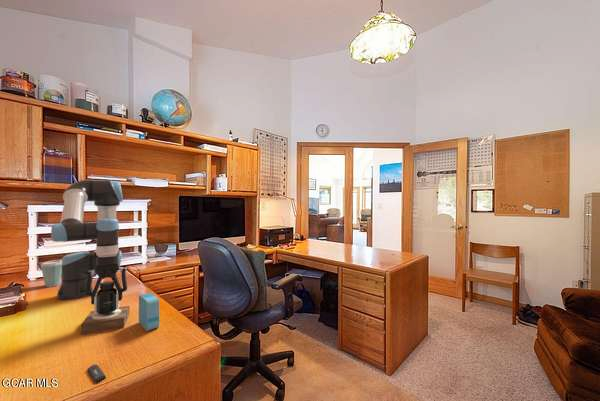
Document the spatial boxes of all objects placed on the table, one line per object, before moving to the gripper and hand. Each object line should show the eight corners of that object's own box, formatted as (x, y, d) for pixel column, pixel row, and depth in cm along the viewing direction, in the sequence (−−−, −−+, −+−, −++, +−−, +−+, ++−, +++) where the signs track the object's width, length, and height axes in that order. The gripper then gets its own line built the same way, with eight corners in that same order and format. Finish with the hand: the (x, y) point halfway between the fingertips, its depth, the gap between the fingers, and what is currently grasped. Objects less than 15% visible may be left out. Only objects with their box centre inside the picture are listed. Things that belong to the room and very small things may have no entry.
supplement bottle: (106, 315, 106) (105, 285, 106) (92, 314, 108) (92, 284, 108) (121, 308, 113) (120, 280, 113) (107, 307, 114) (107, 279, 114)
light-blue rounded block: (159, 328, 106) (159, 298, 106) (146, 332, 103) (147, 301, 103) (150, 319, 115) (150, 291, 115) (138, 322, 112) (138, 294, 112)
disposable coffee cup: (52, 288, 157) (52, 263, 157) (34, 288, 157) (34, 263, 157) (68, 282, 167) (68, 259, 168) (51, 282, 168) (51, 259, 168)
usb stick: (86, 371, 80) (86, 366, 80) (97, 367, 82) (97, 362, 82) (95, 385, 74) (95, 379, 74) (106, 380, 76) (106, 375, 76)
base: (91, 320, 114) (91, 310, 114) (129, 314, 120) (129, 305, 120) (80, 335, 101) (80, 323, 101) (123, 327, 107) (123, 317, 107)
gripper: (74, 259, 103) (74, 317, 103) (133, 254, 111) (133, 309, 111) (81, 255, 110) (80, 310, 110) (135, 251, 118) (135, 303, 118)
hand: (107, 309), depth 110 cm, fingers closed on supplement bottle, 7 cm apart
